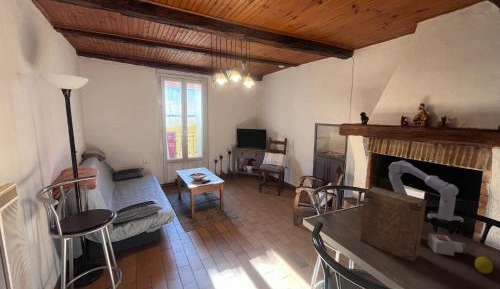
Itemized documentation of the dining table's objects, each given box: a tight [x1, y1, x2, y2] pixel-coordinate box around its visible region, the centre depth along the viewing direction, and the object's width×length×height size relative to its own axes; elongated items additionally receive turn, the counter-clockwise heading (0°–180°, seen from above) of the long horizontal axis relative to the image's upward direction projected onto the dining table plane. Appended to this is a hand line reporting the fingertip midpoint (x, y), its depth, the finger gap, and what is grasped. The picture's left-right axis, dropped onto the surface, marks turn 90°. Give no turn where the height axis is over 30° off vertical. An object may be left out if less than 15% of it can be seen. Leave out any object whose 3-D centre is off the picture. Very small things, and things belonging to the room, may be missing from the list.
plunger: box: [437, 234, 447, 240], centre depth 115 cm, size 3×3×1 cm
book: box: [360, 186, 427, 264], centre depth 116 cm, size 25×9×30 cm, turn 41°
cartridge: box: [442, 240, 469, 254], centre depth 115 cm, size 13×5×5 cm, turn 75°
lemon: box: [474, 256, 493, 274], centre depth 99 cm, size 6×6×8 cm
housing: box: [427, 233, 456, 257], centre depth 116 cm, size 8×8×6 cm
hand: (442, 232), depth 115 cm, fingers open, 6 cm apart
